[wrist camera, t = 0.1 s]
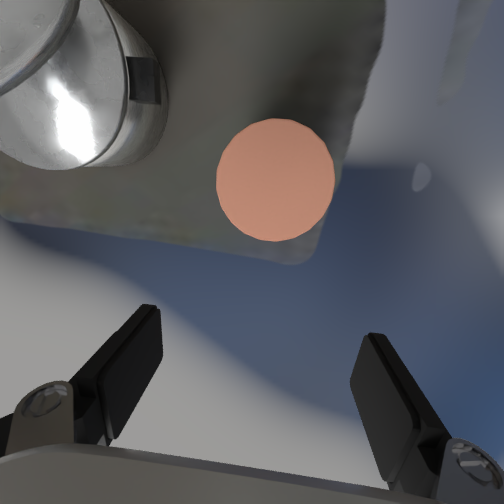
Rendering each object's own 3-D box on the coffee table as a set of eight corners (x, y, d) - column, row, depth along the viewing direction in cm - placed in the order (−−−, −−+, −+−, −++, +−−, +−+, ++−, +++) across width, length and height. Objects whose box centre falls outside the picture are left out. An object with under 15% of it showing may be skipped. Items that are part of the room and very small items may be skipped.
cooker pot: (5, 2, 33) (-135, -82, 22) (185, 14, 31) (137, -68, 20) (39, 160, 40) (-51, 159, 29) (187, 175, 39) (152, 180, 28)
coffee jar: (229, 186, 39) (195, 204, 22) (263, 123, 35) (255, 88, 19) (282, 220, 40) (289, 261, 23) (321, 163, 37) (362, 164, 20)
